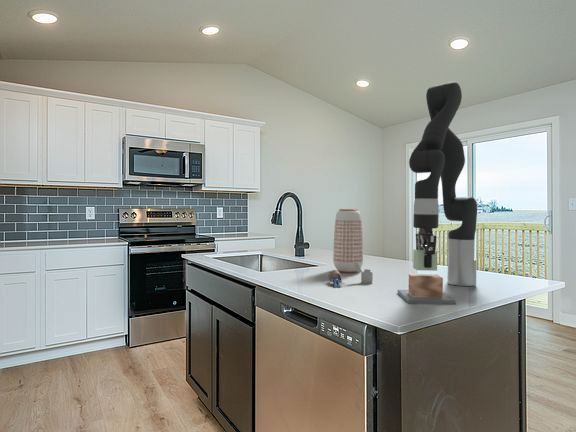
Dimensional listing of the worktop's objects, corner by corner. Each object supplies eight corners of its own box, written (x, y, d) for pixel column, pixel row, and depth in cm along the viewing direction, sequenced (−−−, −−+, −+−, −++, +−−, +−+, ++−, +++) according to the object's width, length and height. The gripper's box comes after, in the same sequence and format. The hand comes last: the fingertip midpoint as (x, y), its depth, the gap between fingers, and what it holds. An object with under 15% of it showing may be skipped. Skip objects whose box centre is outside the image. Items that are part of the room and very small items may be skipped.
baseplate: (439, 293, 130) (439, 290, 130) (455, 304, 116) (455, 300, 116) (397, 293, 131) (397, 289, 131) (408, 303, 117) (408, 299, 117)
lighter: (372, 282, 149) (372, 262, 149) (372, 283, 148) (372, 262, 148) (353, 281, 151) (354, 261, 151) (353, 282, 150) (353, 261, 150)
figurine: (345, 292, 140) (341, 281, 152) (345, 279, 139) (341, 268, 151) (330, 292, 140) (327, 281, 152) (330, 278, 139) (327, 268, 151)
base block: (436, 292, 126) (437, 274, 126) (442, 297, 120) (442, 278, 120) (408, 292, 127) (408, 273, 127) (412, 296, 121) (413, 277, 121)
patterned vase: (343, 274, 167) (344, 209, 166) (327, 270, 179) (328, 209, 178) (368, 272, 172) (369, 209, 172) (351, 268, 184) (352, 209, 184)
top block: (431, 268, 126) (432, 249, 126) (437, 270, 121) (437, 251, 121) (413, 267, 126) (413, 249, 126) (417, 270, 121) (417, 251, 121)
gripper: (446, 213, 116) (444, 270, 116) (430, 213, 130) (429, 263, 131) (420, 213, 116) (419, 269, 117) (408, 212, 131) (407, 263, 131)
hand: (425, 266), depth 124 cm, fingers closed on top block, 5 cm apart
